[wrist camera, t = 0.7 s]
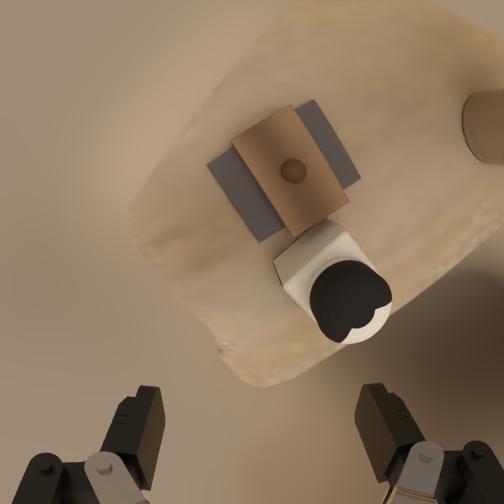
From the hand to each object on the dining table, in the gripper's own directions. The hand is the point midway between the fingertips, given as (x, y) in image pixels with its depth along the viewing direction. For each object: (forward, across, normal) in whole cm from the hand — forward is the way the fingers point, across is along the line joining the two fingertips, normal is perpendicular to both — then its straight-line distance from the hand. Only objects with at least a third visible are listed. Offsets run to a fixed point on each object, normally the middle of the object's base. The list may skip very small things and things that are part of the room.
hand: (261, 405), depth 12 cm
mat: (+22, -4, -8) cm, 24 cm away
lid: (+21, -4, -8) cm, 23 cm away
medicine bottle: (+22, -7, +1) cm, 24 cm away
